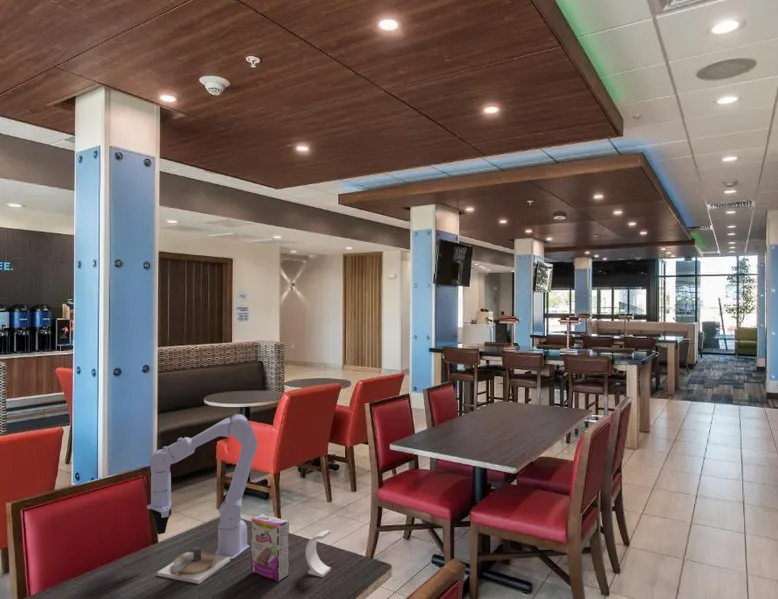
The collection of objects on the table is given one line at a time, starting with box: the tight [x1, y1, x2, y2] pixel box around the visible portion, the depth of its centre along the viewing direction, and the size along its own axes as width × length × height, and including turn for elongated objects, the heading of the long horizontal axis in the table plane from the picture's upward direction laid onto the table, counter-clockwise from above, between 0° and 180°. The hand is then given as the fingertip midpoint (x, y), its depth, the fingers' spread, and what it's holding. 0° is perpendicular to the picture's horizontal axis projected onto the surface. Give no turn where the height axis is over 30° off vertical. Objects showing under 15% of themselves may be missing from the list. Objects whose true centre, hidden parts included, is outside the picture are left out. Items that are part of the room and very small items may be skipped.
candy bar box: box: [250, 513, 290, 582], centre depth 160 cm, size 11×5×16 cm, turn 59°
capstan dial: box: [171, 546, 215, 574], centre depth 162 cm, size 17×12×4 cm
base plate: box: [156, 555, 231, 585], centre depth 164 cm, size 15×15×1 cm
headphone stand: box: [305, 529, 332, 578], centre depth 161 cm, size 5×6×12 cm
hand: (161, 533), depth 167 cm, fingers closed
